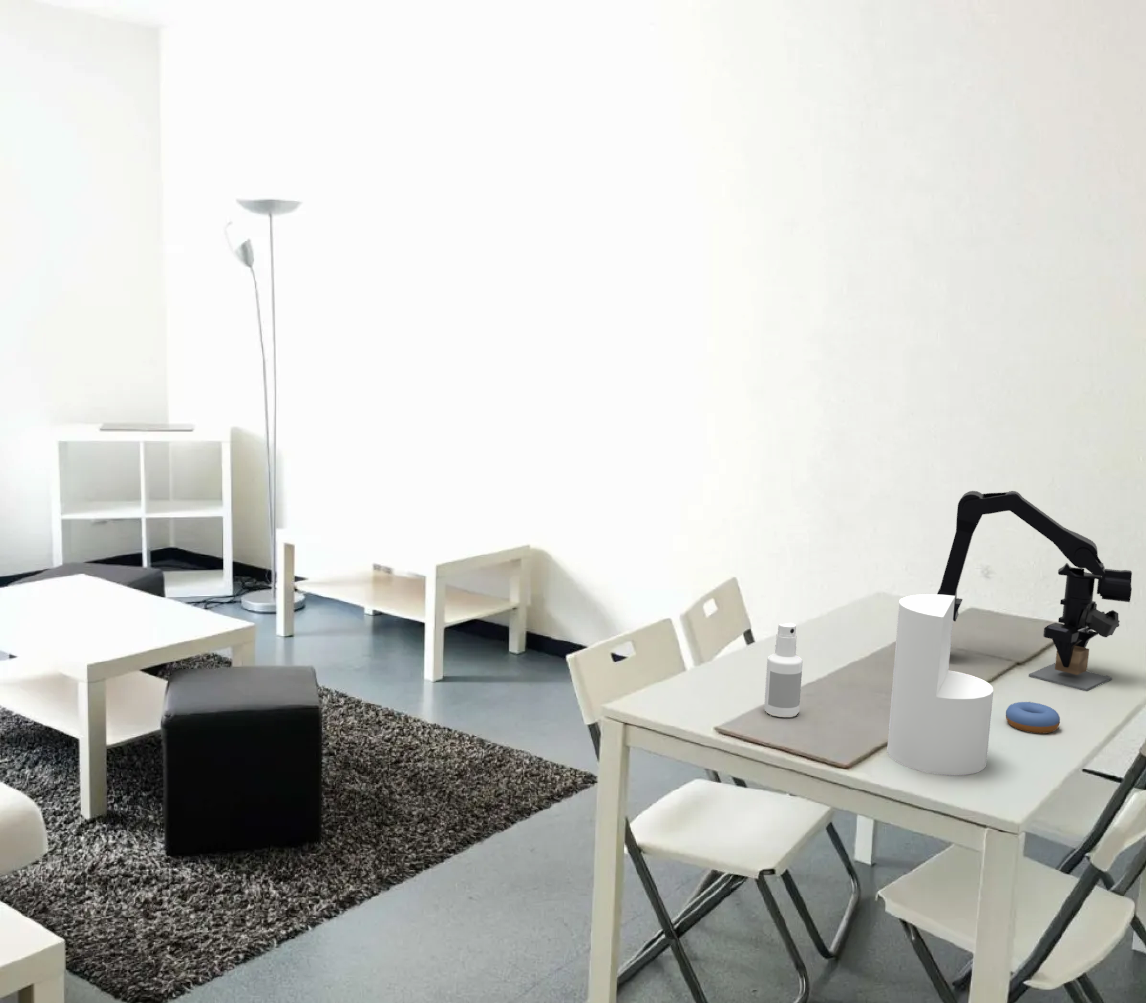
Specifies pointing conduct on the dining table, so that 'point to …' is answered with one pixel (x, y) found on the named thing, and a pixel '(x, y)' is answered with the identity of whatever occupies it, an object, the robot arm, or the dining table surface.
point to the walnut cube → (1074, 661)
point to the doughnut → (1032, 717)
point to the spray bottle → (784, 674)
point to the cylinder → (935, 695)
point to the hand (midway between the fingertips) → (1071, 664)
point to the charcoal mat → (1070, 678)
